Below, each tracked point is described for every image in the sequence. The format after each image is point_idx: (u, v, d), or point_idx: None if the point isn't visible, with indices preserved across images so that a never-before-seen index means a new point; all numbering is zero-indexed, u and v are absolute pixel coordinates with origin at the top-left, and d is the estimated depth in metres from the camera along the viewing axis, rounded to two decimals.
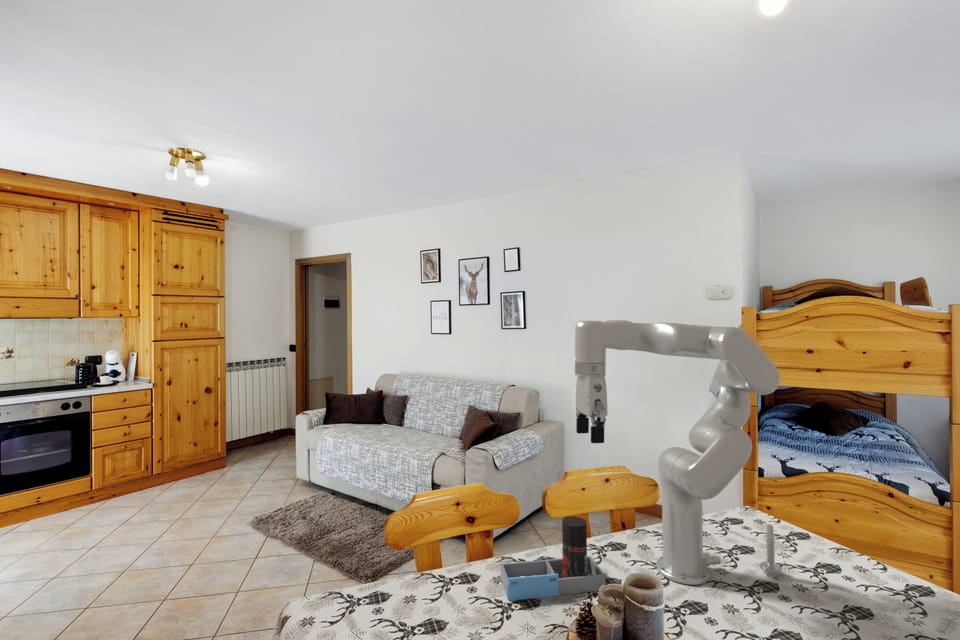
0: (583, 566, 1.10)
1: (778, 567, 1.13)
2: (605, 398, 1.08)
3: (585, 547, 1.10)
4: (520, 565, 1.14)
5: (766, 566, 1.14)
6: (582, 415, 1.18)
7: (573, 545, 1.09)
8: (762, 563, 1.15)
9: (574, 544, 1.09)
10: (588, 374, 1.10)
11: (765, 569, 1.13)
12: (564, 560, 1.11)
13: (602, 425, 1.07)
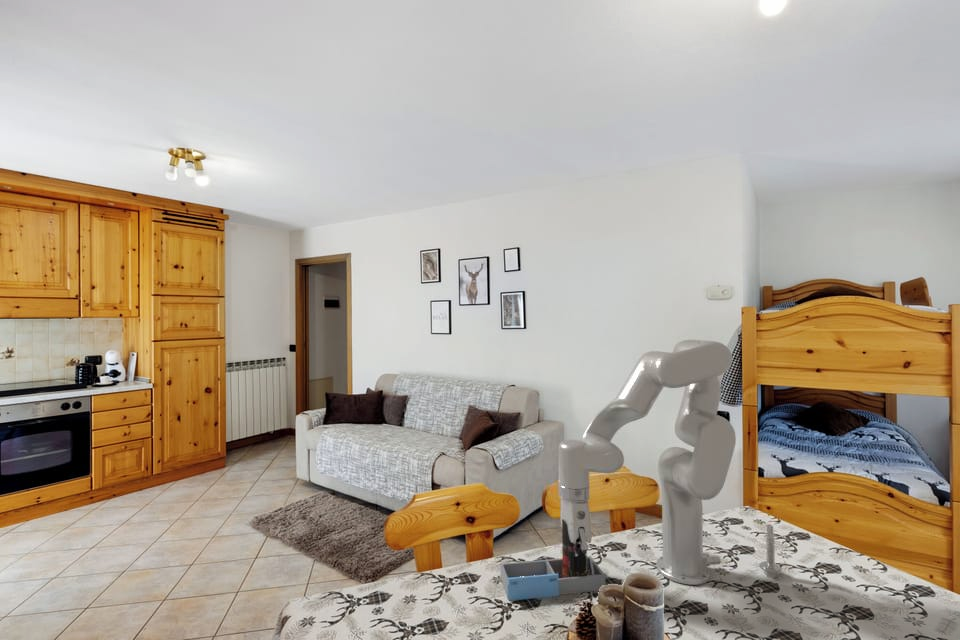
0: None
1: (778, 567, 1.13)
2: (589, 525, 1.08)
3: None
4: (520, 565, 1.14)
5: (766, 566, 1.14)
6: None
7: None
8: (762, 563, 1.15)
9: None
10: (571, 500, 1.09)
11: (765, 569, 1.13)
12: (564, 560, 1.11)
13: (583, 556, 1.08)
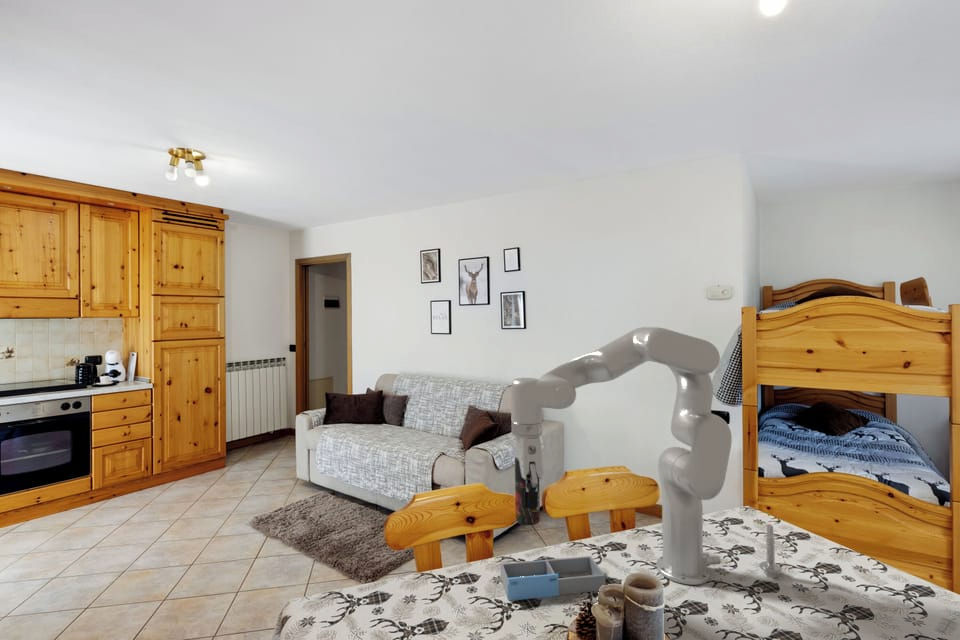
0: None
1: (778, 567, 1.13)
2: (540, 460, 1.06)
3: (537, 484, 1.09)
4: (520, 565, 1.14)
5: (766, 566, 1.14)
6: None
7: (524, 481, 1.08)
8: (762, 563, 1.15)
9: None
10: (522, 435, 1.07)
11: (765, 569, 1.13)
12: (516, 497, 1.09)
13: (534, 491, 1.06)
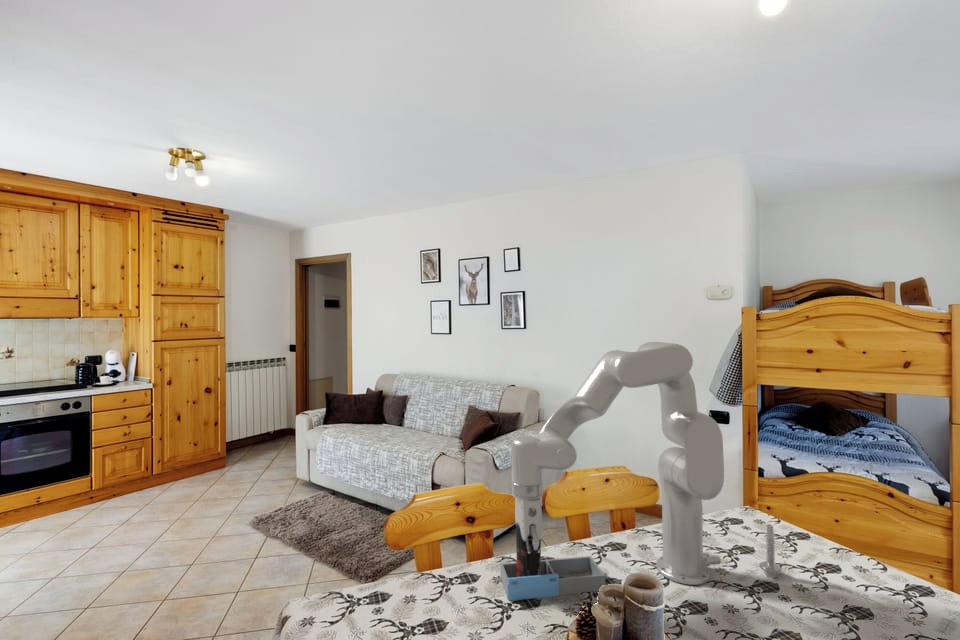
0: (536, 571, 1.08)
1: (778, 567, 1.13)
2: (540, 522, 1.06)
3: None
4: None
5: (766, 566, 1.14)
6: None
7: (526, 549, 1.08)
8: (762, 563, 1.15)
9: None
10: (523, 497, 1.07)
11: (765, 569, 1.13)
12: (517, 564, 1.09)
13: (536, 552, 1.04)
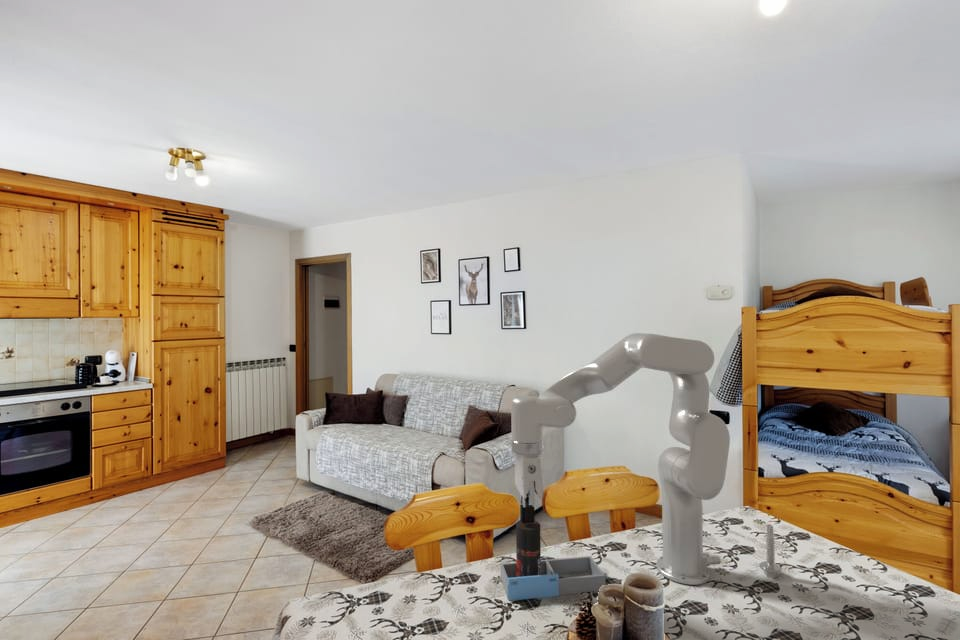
0: (536, 570, 1.08)
1: (778, 567, 1.13)
2: (540, 479, 1.06)
3: (538, 551, 1.09)
4: None
5: (766, 566, 1.14)
6: None
7: (526, 549, 1.08)
8: (762, 563, 1.15)
9: (527, 548, 1.08)
10: (523, 454, 1.07)
11: (765, 569, 1.13)
12: (517, 564, 1.09)
13: None
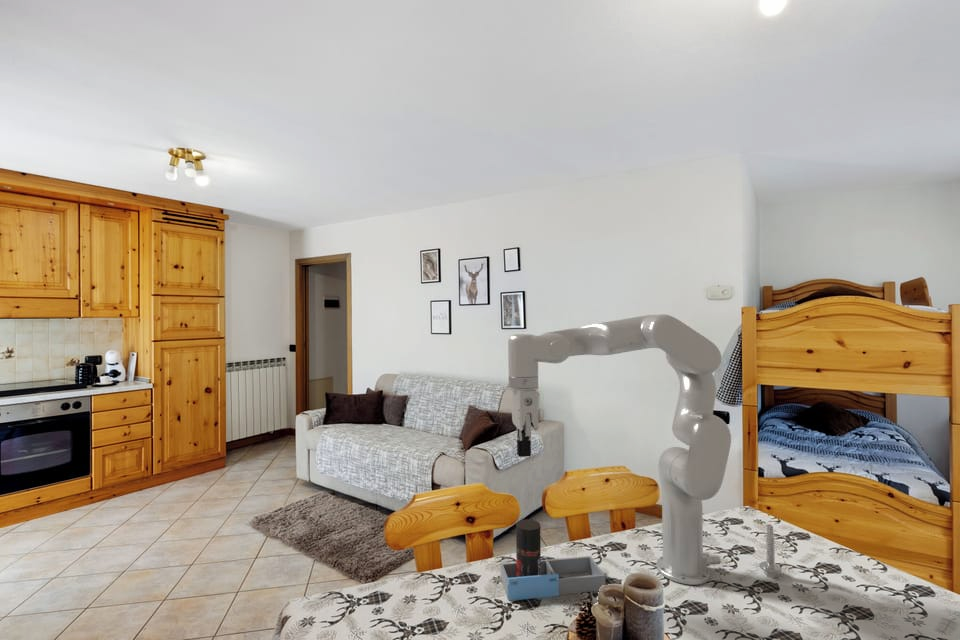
0: (536, 571, 1.08)
1: (778, 567, 1.13)
2: (536, 412, 1.09)
3: (538, 551, 1.09)
4: None
5: (766, 566, 1.14)
6: None
7: (526, 549, 1.08)
8: (762, 563, 1.15)
9: (527, 548, 1.08)
10: (519, 388, 1.10)
11: (765, 569, 1.13)
12: (517, 564, 1.09)
13: None
